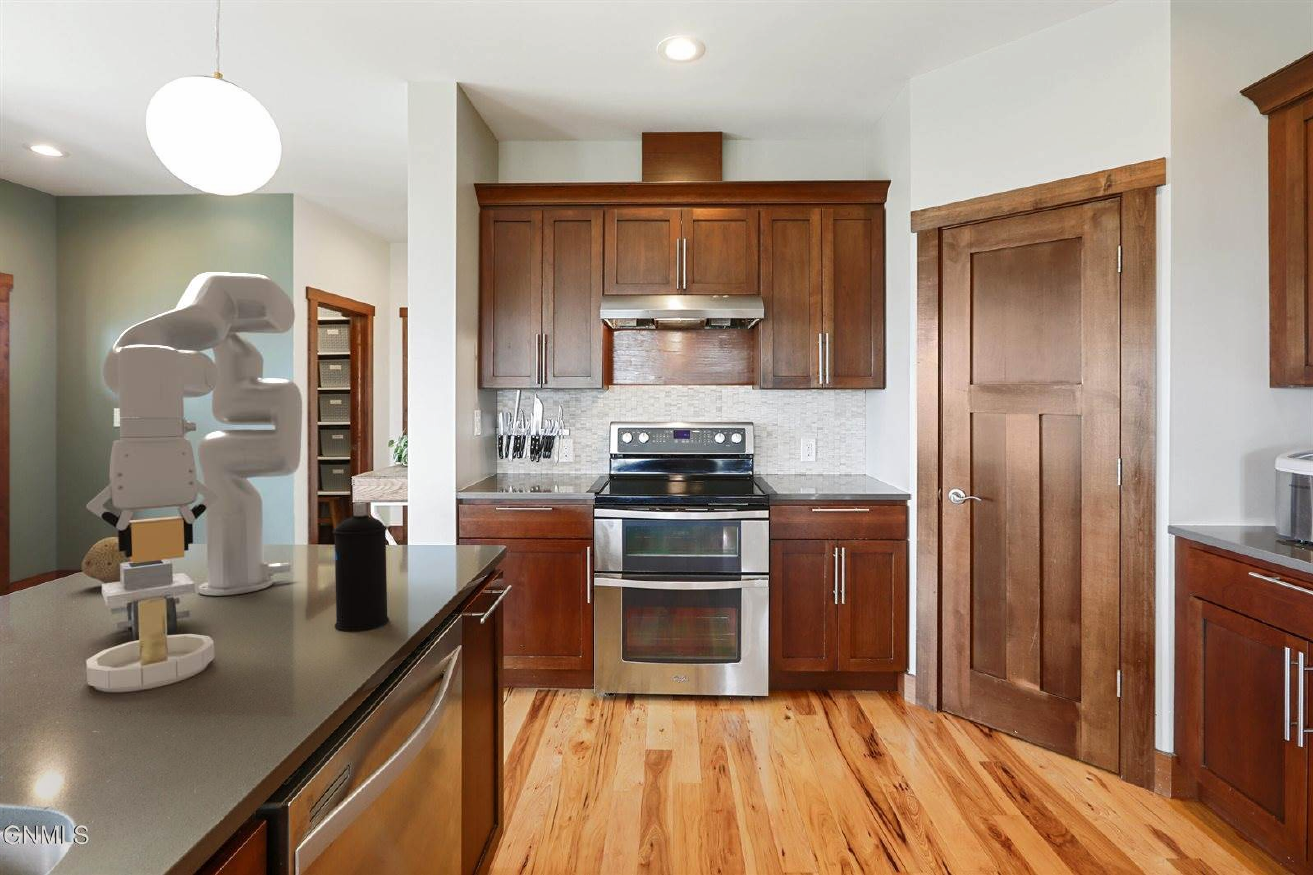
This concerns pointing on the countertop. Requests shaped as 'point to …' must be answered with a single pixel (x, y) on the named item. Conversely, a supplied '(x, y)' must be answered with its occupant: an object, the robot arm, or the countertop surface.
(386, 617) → the aerosol can
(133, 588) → the white stand
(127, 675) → the dish
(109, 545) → the natural sponge
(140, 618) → the pin
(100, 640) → the countertop surface
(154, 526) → the orange cube
